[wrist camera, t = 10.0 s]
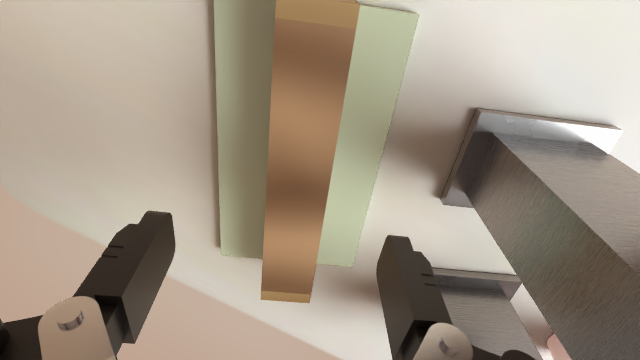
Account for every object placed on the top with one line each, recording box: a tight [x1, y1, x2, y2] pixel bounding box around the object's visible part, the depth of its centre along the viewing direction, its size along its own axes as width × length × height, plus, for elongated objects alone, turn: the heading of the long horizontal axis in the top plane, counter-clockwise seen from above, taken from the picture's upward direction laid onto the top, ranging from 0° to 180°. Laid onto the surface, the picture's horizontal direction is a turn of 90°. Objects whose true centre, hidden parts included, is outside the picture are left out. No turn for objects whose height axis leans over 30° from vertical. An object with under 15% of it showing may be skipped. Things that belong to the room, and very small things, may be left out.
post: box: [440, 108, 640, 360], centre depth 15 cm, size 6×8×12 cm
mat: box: [214, 0, 419, 267], centre depth 19 cm, size 16×9×1 cm, turn 172°
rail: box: [261, 0, 360, 303], centre depth 18 cm, size 17×3×3 cm, turn 173°
